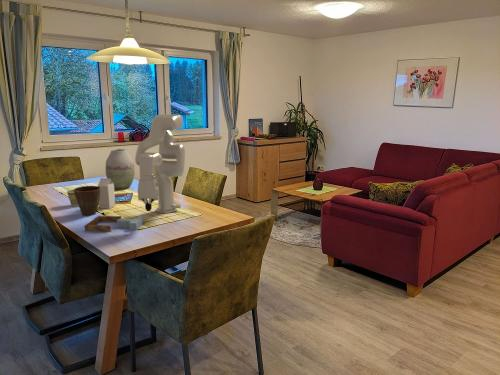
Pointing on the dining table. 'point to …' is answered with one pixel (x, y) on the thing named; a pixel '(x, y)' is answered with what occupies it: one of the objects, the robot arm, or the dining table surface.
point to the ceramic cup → (72, 198)
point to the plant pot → (87, 199)
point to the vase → (120, 168)
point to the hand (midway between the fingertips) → (148, 210)
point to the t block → (130, 223)
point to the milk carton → (106, 193)
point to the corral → (103, 228)
